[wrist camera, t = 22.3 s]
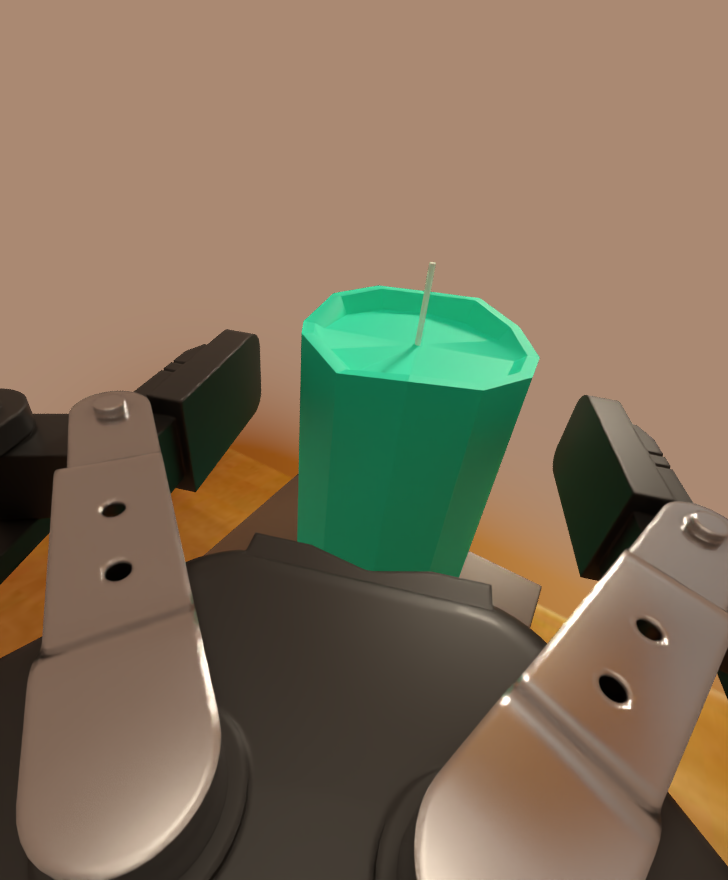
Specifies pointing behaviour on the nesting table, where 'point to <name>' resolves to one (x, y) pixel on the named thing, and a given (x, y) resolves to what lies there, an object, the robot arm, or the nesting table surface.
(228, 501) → the nesting table surface
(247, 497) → the nesting table surface
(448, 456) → the candle
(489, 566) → the stand
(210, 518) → the nesting table surface
